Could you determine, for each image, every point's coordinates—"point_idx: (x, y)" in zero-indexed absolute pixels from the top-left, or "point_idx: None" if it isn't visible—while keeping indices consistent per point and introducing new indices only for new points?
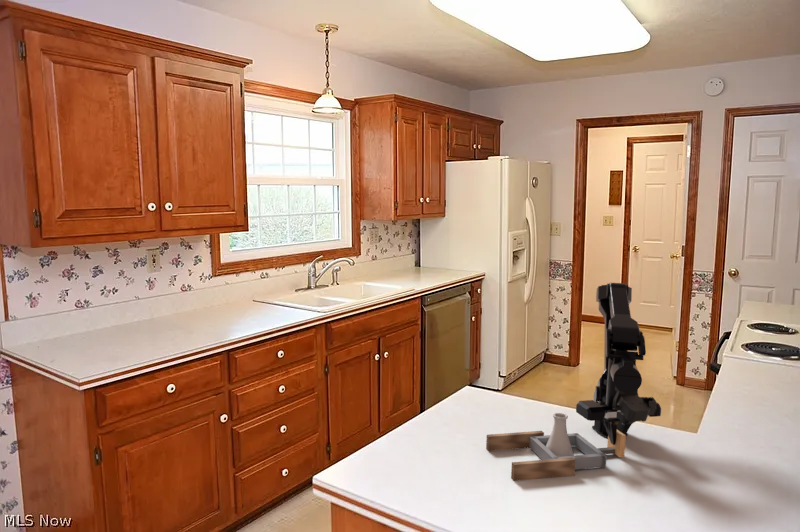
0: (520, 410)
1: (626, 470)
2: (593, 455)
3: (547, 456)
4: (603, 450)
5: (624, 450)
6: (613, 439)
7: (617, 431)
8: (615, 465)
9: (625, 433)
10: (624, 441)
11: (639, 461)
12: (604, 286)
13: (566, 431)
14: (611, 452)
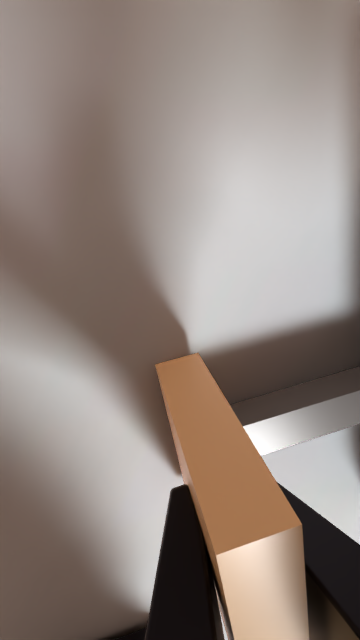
0: None
1: (226, 126)
2: None
3: None
4: (320, 401)
5: (166, 397)
6: (294, 499)
7: (271, 637)
8: (275, 231)
9: (164, 624)
10: (199, 466)
11: (30, 323)
12: None
13: None
14: (241, 408)
